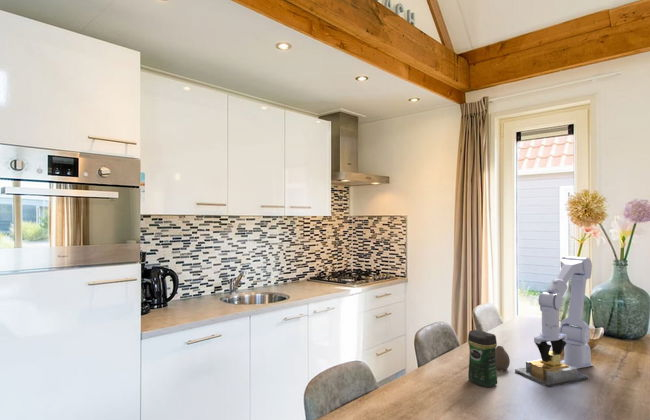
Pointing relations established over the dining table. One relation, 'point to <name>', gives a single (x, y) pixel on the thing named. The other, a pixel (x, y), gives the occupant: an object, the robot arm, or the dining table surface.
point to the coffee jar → (482, 358)
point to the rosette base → (548, 382)
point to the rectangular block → (553, 359)
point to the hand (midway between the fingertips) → (550, 360)
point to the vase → (501, 359)
